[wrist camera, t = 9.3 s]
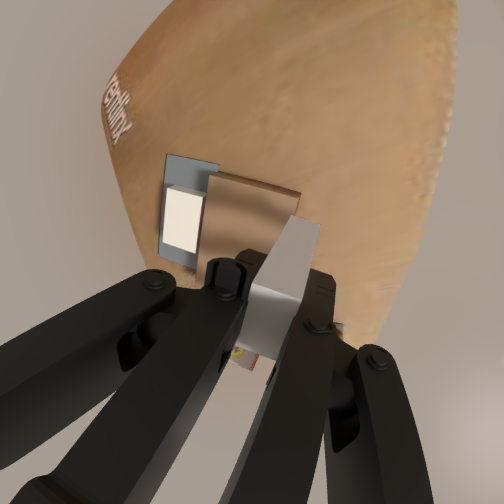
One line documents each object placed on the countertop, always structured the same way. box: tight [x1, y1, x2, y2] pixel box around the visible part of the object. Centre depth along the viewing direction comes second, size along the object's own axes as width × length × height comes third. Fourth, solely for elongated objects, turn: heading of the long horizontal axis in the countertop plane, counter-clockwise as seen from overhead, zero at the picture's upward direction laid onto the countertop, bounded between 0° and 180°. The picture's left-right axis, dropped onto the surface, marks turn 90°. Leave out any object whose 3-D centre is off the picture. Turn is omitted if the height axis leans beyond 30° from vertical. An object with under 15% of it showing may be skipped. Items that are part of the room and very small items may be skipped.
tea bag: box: [228, 340, 259, 371], centre depth 44 cm, size 4×7×10 cm, turn 73°
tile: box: [163, 185, 207, 253], centre depth 42 cm, size 9×6×2 cm, turn 168°
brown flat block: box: [195, 172, 301, 289], centre depth 41 cm, size 18×12×4 cm, turn 168°
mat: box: [159, 154, 220, 270], centre depth 44 cm, size 18×9×1 cm, turn 168°
